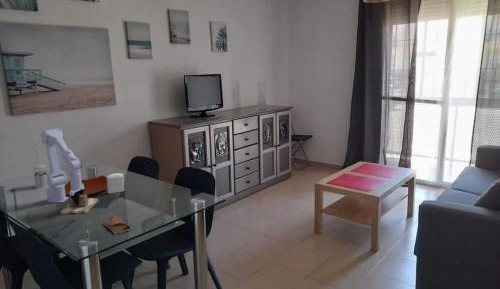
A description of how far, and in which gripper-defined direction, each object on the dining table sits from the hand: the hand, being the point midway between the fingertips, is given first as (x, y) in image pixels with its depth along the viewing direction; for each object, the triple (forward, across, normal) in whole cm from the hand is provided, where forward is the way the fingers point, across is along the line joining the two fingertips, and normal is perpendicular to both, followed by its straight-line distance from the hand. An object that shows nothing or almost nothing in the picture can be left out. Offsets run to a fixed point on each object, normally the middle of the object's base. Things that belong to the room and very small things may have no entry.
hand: (78, 202), depth 219 cm
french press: (+3, +39, +41) cm, 56 cm away
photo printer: (+3, +26, -13) cm, 30 cm away
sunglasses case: (+4, -26, -29) cm, 39 cm away
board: (+3, +2, 0) cm, 4 cm away
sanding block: (+2, 0, 0) cm, 2 cm away
